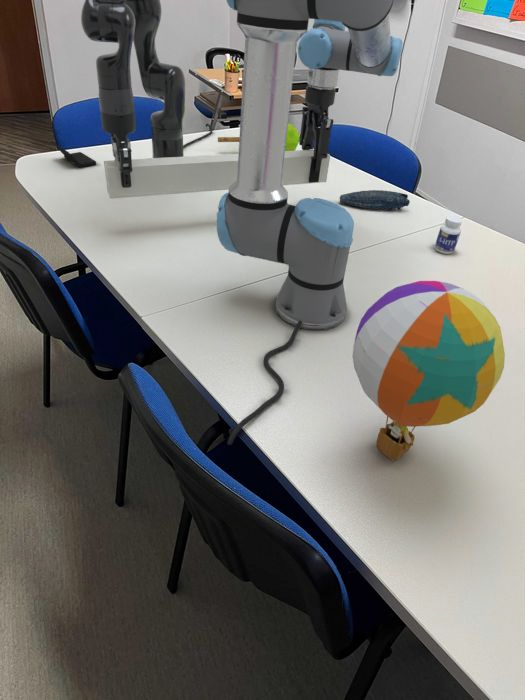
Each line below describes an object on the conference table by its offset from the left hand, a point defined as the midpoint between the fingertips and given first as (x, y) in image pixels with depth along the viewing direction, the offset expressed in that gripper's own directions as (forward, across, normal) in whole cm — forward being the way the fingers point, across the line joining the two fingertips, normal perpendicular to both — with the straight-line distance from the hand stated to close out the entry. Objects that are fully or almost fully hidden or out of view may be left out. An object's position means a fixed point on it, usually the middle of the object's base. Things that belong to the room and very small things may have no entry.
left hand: (124, 182), depth 127 cm
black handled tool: (+13, -53, -8) cm, 55 cm away
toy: (+13, +85, +26) cm, 90 cm away
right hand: (+2, 0, +50) cm, 51 cm away
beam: (+3, 0, +25) cm, 25 cm away
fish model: (+13, -1, +74) cm, 76 cm away
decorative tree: (+13, -52, +56) cm, 78 cm away
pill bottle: (+13, +29, +79) cm, 85 cm away
